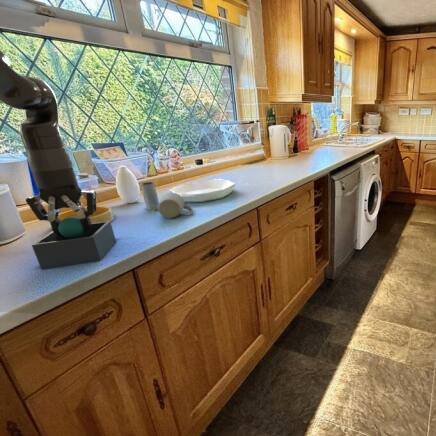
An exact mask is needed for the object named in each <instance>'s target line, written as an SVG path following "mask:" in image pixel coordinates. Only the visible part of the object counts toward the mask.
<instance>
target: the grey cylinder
mask: <svg viewBox="0 0 436 436" xmlns="http://www.w3.org/2000/svg"><path fill="white" fill-rule="evenodd" d="M140 189H141V191H142V196H143V201H144V205H145V208H146V210H147V211H153V210H154V211H159V210H158V206H159V203H160V201H159V197H158V193H157V188H156V184H155V182H154V181H146V182H142V183H140Z"/></svg>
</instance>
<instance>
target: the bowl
mask: <svg viewBox="0 0 436 436" xmlns="http://www.w3.org/2000/svg"><path fill="white" fill-rule="evenodd" d="M85 208H86V210H87V207H85ZM96 210H97V211H96V212H95V213H93V214H92V215H90V216H89V218H90V221H91V223H99V222H107V221H110V222H111V223H112V222H113V221H114V214H113V210H112V208H111V207H110V206H105V205H104V206H103V205H102V206H96ZM67 217H79V218H81V217H80V216H79V215H78V214H77V213H76V212H74V211H73V210H72V209H71V210H68V211H64V212H61V213H59V218H58V219H60V220H61V221H62V220H63V219H64V218H67Z"/></svg>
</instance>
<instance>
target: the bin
mask: <svg viewBox="0 0 436 436" xmlns="http://www.w3.org/2000/svg"><path fill="white" fill-rule="evenodd" d="M91 224H92V228H90V230H89V231H88V232H85V233H84V234H83V235H82V236H80V237H77V238H67V237H64V236H63V235H57V233H54V232H53V230H51V231H50V232H49V233H47V234H46V235H44V236H43V237H41V238H40V239H39V240H37V241H36V242H34V243H33V244H31V247H32V250H33V252H34V254H35V257H36V259H37V262H38V265H39V267H40V269H41V270H47V269H54V268H61V267H68V266H74V265H81V264H89V263H95V262H100V261H102V260H103V259H104V257H105V256H106V255H107V254H108V253H109V252H110V250H111V249H112V248H113V247H114V245H116V243H117V240H116V239H117V238H116V236H115V233H114V230H113V226H112V221H111V222H110V221H107V222H99V223H91Z"/></svg>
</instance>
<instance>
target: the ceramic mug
mask: <svg viewBox="0 0 436 436" xmlns="http://www.w3.org/2000/svg"><path fill="white" fill-rule="evenodd" d="M157 211H158V213H159V214H160V215H161V216H162V217H163V218H166V219H174V218H176V217H178V216H179V215H180V214H181V215H185V216H190V215H192V214H193V213H194V208H192V207H191V206H189V205H187V204H185V202H184V200H183V198H182V197H181V196H180V195H178V194H176V193H171V192H167V193H165V194H164V195H163V196H162V197H161V199H160V201H159V206H158V210H157Z"/></svg>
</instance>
